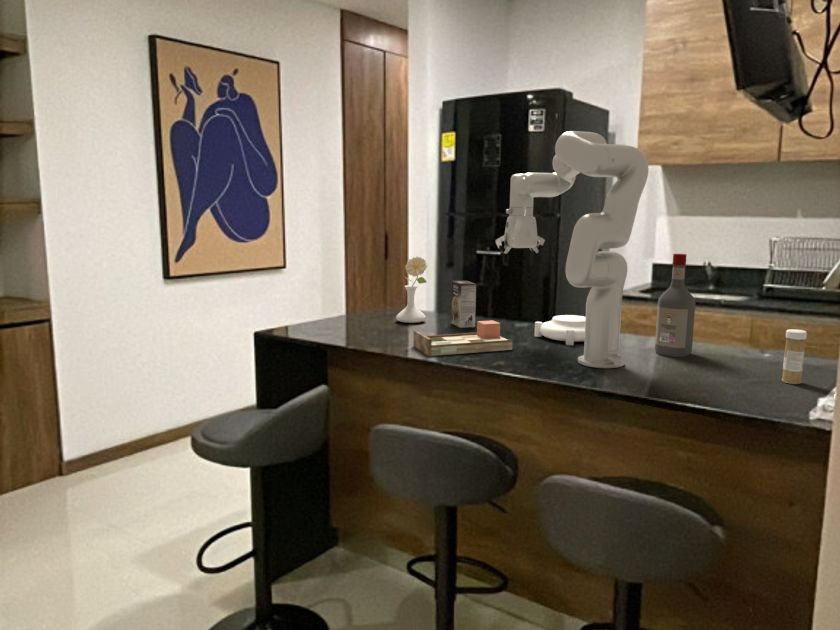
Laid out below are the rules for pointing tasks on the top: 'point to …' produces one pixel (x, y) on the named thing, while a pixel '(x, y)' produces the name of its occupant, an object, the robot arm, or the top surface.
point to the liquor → (675, 315)
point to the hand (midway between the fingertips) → (519, 265)
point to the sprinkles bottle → (794, 356)
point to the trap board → (458, 343)
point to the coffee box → (463, 303)
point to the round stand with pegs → (563, 328)
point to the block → (488, 329)
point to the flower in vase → (413, 292)
